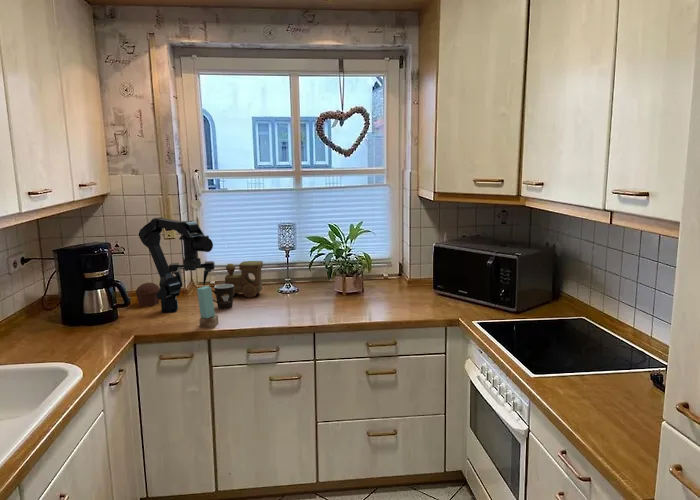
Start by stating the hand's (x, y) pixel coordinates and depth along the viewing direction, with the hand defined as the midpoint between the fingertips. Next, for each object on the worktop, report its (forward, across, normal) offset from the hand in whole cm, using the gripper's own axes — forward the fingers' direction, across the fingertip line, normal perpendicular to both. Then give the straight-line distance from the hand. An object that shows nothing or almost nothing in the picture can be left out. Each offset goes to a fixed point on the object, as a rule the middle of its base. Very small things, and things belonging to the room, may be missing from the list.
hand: (193, 286), depth 229 cm
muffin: (+13, -23, +24) cm, 36 cm away
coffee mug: (+13, +11, +10) cm, 20 cm away
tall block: (+9, +7, -17) cm, 20 cm away
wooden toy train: (+13, +20, +30) cm, 38 cm away
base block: (+13, +7, -17) cm, 23 cm away
